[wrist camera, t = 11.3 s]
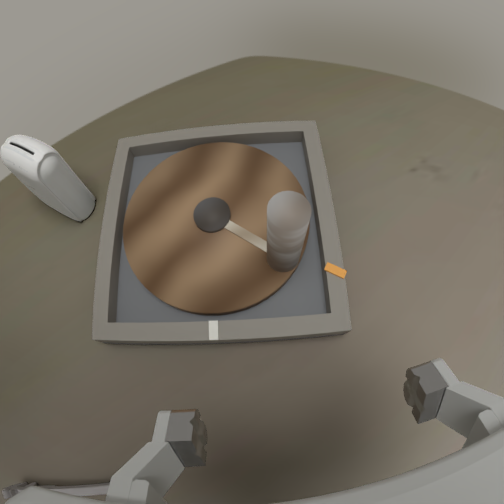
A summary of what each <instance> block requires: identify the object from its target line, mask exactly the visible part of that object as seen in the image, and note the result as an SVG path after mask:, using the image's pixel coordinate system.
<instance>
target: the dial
mask: <svg viewBox="0 0 504 504" xmlns="http://www.w3.org/2000/svg"><path fill="white" fill-rule="evenodd" d="M311 211H312V210H311V205H310V203H309V201H308V200H307V199H306V196H305V194H304V191H303V189H302V187H301V185H300V183H299V182H298V180H297V178H296V177H295V176H294V175H293V173H292V172H291V171H290V170H289V169H288V168H287V167H286V166H285V165H284V164H283V163H282V162H280V161H279V160H278V159H276V158H275V157H274V156H272V155H270V154H268V153H266V152H265V151H262V150H260V149H257V148H255V147H252V146H248V145H244V144H238V143H229V142H217V143H207V144H201V145H197V146H194V147H190V148H187V149H185V150H182V151H180V152H178V153H176V154H174V155H172V156H170V157H168V158H167V159H165V160H164V161H162V162H161V163H160V164H158V165H157V166H156V167H155V168H154V169H152V170H151V171H150V172H149V173H148V175H147V176H146V177H145V178H144V179H143V180H142V182H141V183H140V184H139V185H138V187H137V189H136V190H135V192H134V194H133V195H132V197H131V200H130V202H129V204H128V207H127V210H126V214H125V218H124V224H123V242H124V249H125V253H126V257H127V260H128V262H129V264H130V267H131V269H132V270H133V272H134V274H135V275H136V277H137V278H138V280H139V281H140V282H141V283H142V284H143V285H144V287H145V288H146V289H148V290H149V291H150V292H151V293H152V294H153V295H155V296H156V297H157V298H159V299H160V300H162V301H163V302H165V303H166V304H168V305H170V306H172V307H174V308H176V309H179V310H181V311H185V312H188V313H192V314H198V315H205V316H219V315H227V314H233V313H237V312H240V311H244V310H247V309H249V308H251V307H254V306H256V305H258V304H260V303H261V302H263V301H265V300H266V299H268V298H270V297H271V296H272V295H273V294H275V293H276V292H277V291H278V290H280V289H281V288H282V286H283V285H284V284H285V283H286V282H287V281H288V280H289V279H290V277H291V276H292V275H293V273H294V272H295V270H296V269H297V267H298V265H299V263H300V261H301V259H302V256H303V253H304V250H305V247H306V244H307V240H308V235H309V227H310V217H311Z"/></svg>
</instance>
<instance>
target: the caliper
mask: <svg viewBox="0 0 504 504" xmlns="http://www.w3.org/2000/svg"><path fill="white" fill-rule="evenodd" d="M109 484H110V482H108V483H99V484H89V485H75V486H56V485H50V486H48V485H44V486H39V487H43V488H46V489H50V490H54V491H58V492H62V493H66V494H71V495H76V496H90V495H102V494H107V492H108V488H109ZM29 486H38V485H37V483H36V482H33V483H31V484H28V483H27V482H22V483H19V484H15V485H11V486H9V487H6V488H4V489H3V490H2V493H3V496H4V498H5V499H7V498H11V497H13V496H15V495H16V494H17V493H19V492H21V491H22V490H24V489H25V488H27V487H29Z"/></svg>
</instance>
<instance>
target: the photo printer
mask: <svg viewBox="0 0 504 504" xmlns="http://www.w3.org/2000/svg"><path fill="white" fill-rule="evenodd" d="M0 154H1V159H2V161H3V163H4V165H5V166H6V167H7V168H8V169H9V170H10V171H11V172H12V173H13V174H14V175H15V176H16V177H17V178H18V179H19V180H20V181H21V182H22V183H23V184H24V185H25V186H26V187H27V188H28V189H29V190H30V191H31V192H33V193H34V194H35V195H36V196H37V197H38V198H39V199H40V200H41V201H43V202H44V203H45V204H47V205H48V206H50V207H51V208H53V209H55V210H56V211H58V212H60V213H62V214H64V215H65V216H67V217H69V218H71V219H73V220H76V221H80V222H81V221H82V220H85V219H86V218H87V217H88V216H89V215H90V214H91V213H92V211H93V209H94V206H95V200H96V199H95V197H94V195H93V194H92V193H91V192H90V191H89V189H88V188H87V187H86V186H85V185H84V184H83V182H82V181H81V180H80V179H79V178H78V176H77V175H76V174H75V173H74V171H73V170H72V169H71V168H70V167H69V165H68V164H67V163H66V162H65V160H64V159H63V158H62V157H61V155H60V154H59V153H58V152H57V151H56V150H55V149H54V148H53V147H51V146H49V145H48V144H46V143H44V142H42V141H40V140H38V139H35V138H33V137H30V136H25V135H14V136H11V137H9V138H7V140H6V142H5V143H4V144H3V145H2V147H1V152H0Z"/></svg>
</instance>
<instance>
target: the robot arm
mask: <svg viewBox="0 0 504 504" xmlns="http://www.w3.org/2000/svg"><path fill="white" fill-rule="evenodd" d="M406 377H407V381H406V382H405V383H404V388H403V391H404V397H405V400H406V402H407V404H408V405H409V406H411V407H413V410H412V414H413V416H414V418H415V420H416V421H417V423H418V424H419V423H422V422H425V421H428V420H431V419H434V418H436V419H437V420H439V421H441V422H442V423H444V424H445V425H447V426H448V427H450V428H452V429H453V430H455V431H456V432H458V433H460V434H461V435H463V436H464V437H466V438H467V440H466V442H465V444H464V445H463V447H462V449H461V450H459V451H457V452H454V453H452V454H450V455H448V456H445V457H443V458H441V459H438V460H436V461H434V462H431V463H429V464H426V465H424V466H421V467H418V468H416V469H413V470H410V471H407V472H405V473H402V474H399V475H396V476H393V477H390V478H387V479H383V480H380V481H377V482H373V483H370V484H366V485H363V486H359V487H355V488H351V489H347V490H343V491H339V492H335V493H330V494H325V495H320V496H315V497H310V498H304V499H299V500H292V501H286V502H278V503H270V504H504V398H503V397H501V396H498V395H496V394H493V393H491V392H488V391H486V390H483V389H481V388H478V387H476V386H473V385H471V384H468V383H466V382H464V381H462V382H459V380H458V379H457V378H456V376H455V375H454V373H453V372H452V371H451V369H450V368H449V367H448V365H447V364H446V363H445V361H444V360H443V359H442V358H438V359H435V360H432V361H430V362H426V363H423V364H420V365H417V366H414V367H411V368H408V369H407V371H406ZM206 444H207V430H206V426H205V424H204V422H203V421H201V420H200V413H199V411H198V409H189V410H165V411H160V412H159V413H158V415H157V420H156V424H155V429H154V433H153V437H152V442H148V443H147V444H146V445H145V446H144V447H143V448H142V449H140V450H139V451H138V452H137V453H136V454H135V455H134V456H133V457H132V458H131V459H130V460H129V461H128V462H127V463H126V464H125V465H123V466H122V467H121V468H120V469H119V470H118V471H117V472H116V473H115V474H114V475H113V476H112V477H111V481H110V484H109V488H108V492H107V496H106V500H105V501H103V500H97V499H91V498H86V497H80V496H76V495H71V494H66V493H62V492H58V491H54V490H50V489H46V488H43V487H39V486H29V487H27V488H25V489H24V490H22V491H21V492H19V493H17V494H16V495H15V496H13V497H12V498H10V499H9V500H7V501H6V502H5V504H168V503H167V502H166V501H165V500H164V499H163V498H162V497H163V496H164V495H165V494H166V492H167V491H168V490H169V488H170V487H171V486H172V484H173V483H174V482H175V481H176V479H177V478H178V477H179V475H180V474H181V473H182V471H183V470H184V469H185V467H193V466H206V451H205V449H204V446H205V445H206Z"/></svg>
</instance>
